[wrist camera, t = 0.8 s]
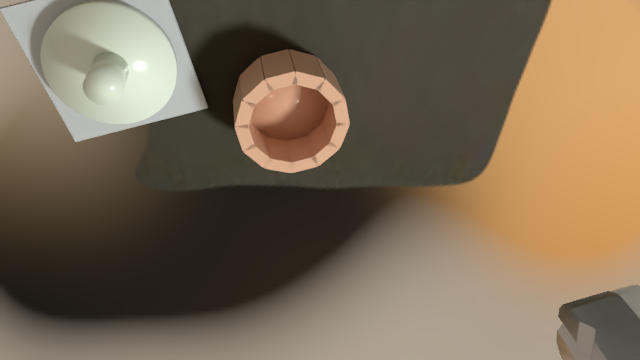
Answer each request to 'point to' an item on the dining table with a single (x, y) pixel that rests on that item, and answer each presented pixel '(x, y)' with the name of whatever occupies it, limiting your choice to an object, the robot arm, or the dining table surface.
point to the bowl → (289, 111)
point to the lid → (109, 62)
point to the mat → (29, 31)
